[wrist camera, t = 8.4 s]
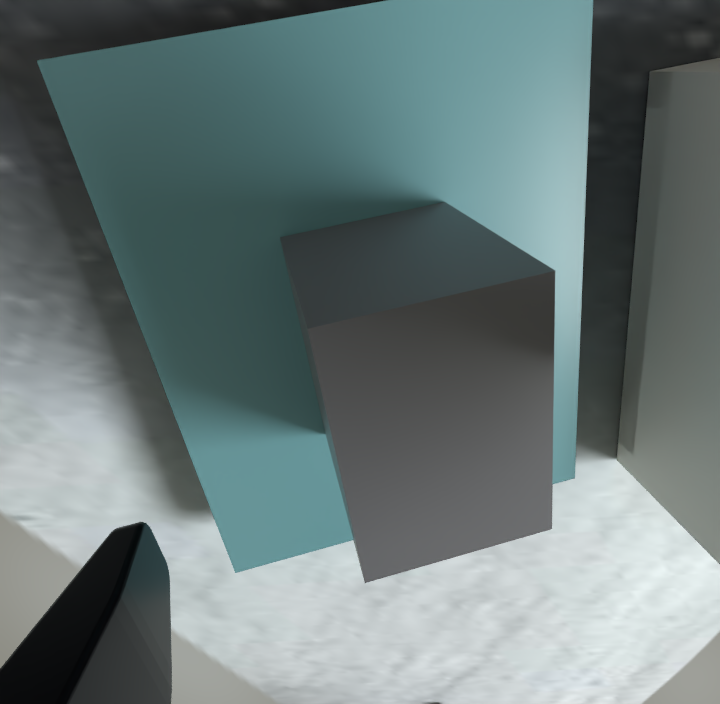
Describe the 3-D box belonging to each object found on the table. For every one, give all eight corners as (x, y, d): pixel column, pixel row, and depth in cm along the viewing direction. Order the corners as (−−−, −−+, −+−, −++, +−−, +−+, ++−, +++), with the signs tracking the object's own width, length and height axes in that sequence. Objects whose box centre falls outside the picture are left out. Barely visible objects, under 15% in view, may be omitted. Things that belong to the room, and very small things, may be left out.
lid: (540, 438, 18) (685, 610, 12) (234, 520, 17) (238, 751, 11) (540, -21, 12) (823, -99, 6) (67, 61, 11) (-109, 55, 5)
